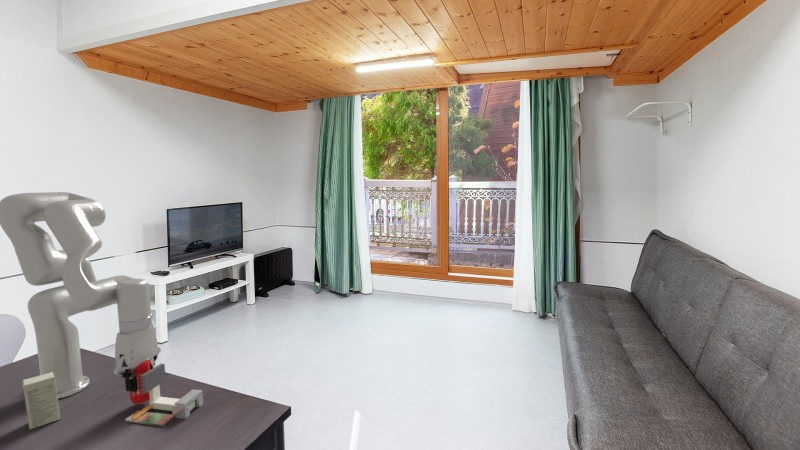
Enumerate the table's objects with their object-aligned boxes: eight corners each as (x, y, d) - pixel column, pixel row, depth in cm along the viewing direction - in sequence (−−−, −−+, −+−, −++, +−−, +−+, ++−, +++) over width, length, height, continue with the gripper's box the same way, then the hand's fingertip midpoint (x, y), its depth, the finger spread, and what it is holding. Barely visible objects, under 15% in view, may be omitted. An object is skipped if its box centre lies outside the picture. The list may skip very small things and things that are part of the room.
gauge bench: (124, 421, 104) (123, 406, 104) (157, 398, 115) (156, 385, 115) (174, 428, 102) (173, 412, 101) (203, 404, 112) (202, 390, 112)
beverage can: (141, 405, 109) (138, 364, 107) (126, 403, 110) (122, 362, 108) (156, 395, 114) (153, 356, 112) (141, 393, 115) (138, 354, 113)
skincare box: (59, 412, 108) (54, 370, 107) (60, 419, 105) (56, 376, 104) (27, 423, 104) (22, 379, 102) (27, 430, 100) (22, 385, 99)
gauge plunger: (131, 421, 104) (128, 382, 103) (163, 398, 115) (160, 363, 113) (171, 426, 102) (168, 387, 101) (200, 402, 113) (197, 367, 111)
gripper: (148, 312, 118) (153, 370, 120) (95, 334, 102) (101, 400, 104) (170, 314, 117) (174, 372, 119) (120, 336, 100) (126, 403, 102)
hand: (140, 384), depth 111 cm, fingers closed on beverage can, 5 cm apart
